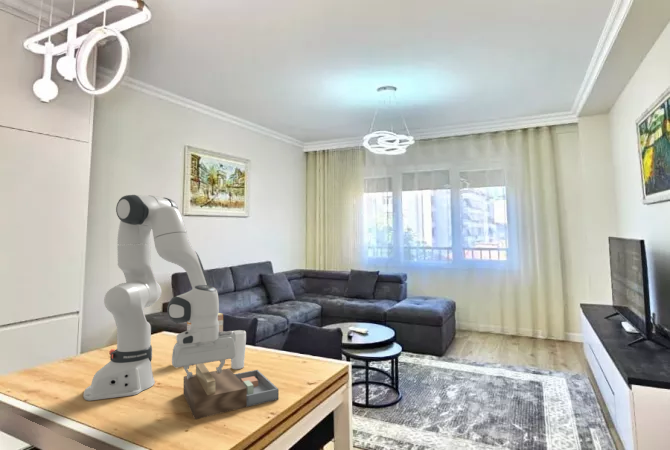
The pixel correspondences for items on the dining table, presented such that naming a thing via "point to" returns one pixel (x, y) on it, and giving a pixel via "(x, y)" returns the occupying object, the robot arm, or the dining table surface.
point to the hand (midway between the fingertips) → (204, 375)
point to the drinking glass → (239, 350)
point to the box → (260, 389)
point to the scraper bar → (205, 379)
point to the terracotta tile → (251, 380)
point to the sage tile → (248, 387)
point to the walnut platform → (225, 398)
